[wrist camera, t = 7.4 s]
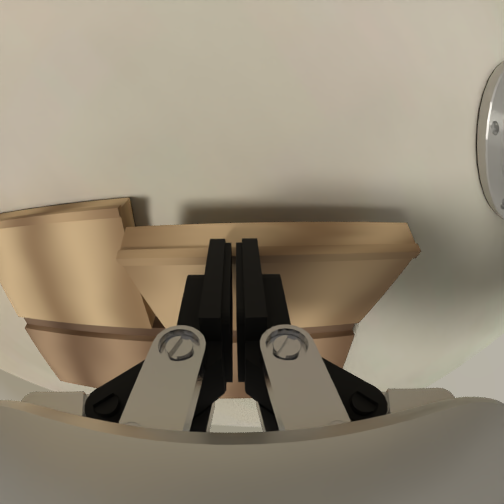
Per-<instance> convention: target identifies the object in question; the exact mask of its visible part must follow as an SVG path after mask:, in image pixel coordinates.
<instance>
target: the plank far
mask: <svg viewBox="0 0 504 504" xmlns="http://www.w3.org/2000/svg"><path fill="white" fill-rule="evenodd" d="M126 227H135V223H134V218H133V213H132V208H131V202H130V198H118V199H108V200H97V201H88V202H79V203H70V204H62V205H55V206H47V207H40V208H33V209H26V210H20V211H14V212H8V213H2V214H0V283H1V285H2V287H3V289H4V291H5V293H6V295H7V296H8V298H9V300H10V302H11V304H12V306H13V308H14V309H15V311H16V313H17V315H18V316H19V317H25V318H32V319H40V320H48V321H56V322H65V323H75V324H85V325H97V326H111V327H126V328H147V329H152V327H153V323H154V319H155V316H156V314H155V313H154V312H153V310H152V309H151V307H150V306H149V304H148V303H147V302H146V300H145V299H144V297H143V296H142V294H141V293H140V291H139V290H138V288H137V287H136V285H135V284H134V282H133V281H132V279H131V278H130V276H129V274H128V273H127V271H126V270H125V268H124V267H123V266H120V265H119V263H118V261H117V260H116V256H117V252H118V250H120V248H121V244H122V240H123V236H124V233H125V229H126Z"/></svg>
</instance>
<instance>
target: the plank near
mask: <svg viewBox="0 0 504 504" xmlns="http://www.w3.org/2000/svg"><path fill="white" fill-rule="evenodd" d="M242 238H257V240H258V248H259V255H260V263H261V271H262V274H280V276H281V280H282V285H283V289H284V294H285V299H286V303H287V308H288V313H289V318H290V322H291V325H294V326H297V327H300V328H304V327H318V326H331V325H342V324H352V323H359V322H360V321H361V320H362V319H363V318H364V317H365V315H366V314H367V313H368V312H369V311H370V310H371V309H372V308H373V306H374V305H375V304H376V303H377V302H378V301H379V299H380V298H381V297H382V296H383V295H384V293H385V292H386V291H387V290H388V289H389V287H390V286H391V285H392V284H393V283H394V281H395V280H396V279H397V278H398V276H399V275H400V274H401V273H402V271H403V270H404V269H405V267H406V266H407V265H408V264H409V262H410V261H411V260H412V258H416V257H417V256H418V255H419V253H420V252H421V250H420V248H419V245H418V244H415V241H414V239H413V236H412V234H411V231H410V229H409V227H408V224H407V223H394V222H257V223H215V224H184V225H160V226H138V227H126V229H125V233H124V236H123V240H122V244H121V248H120V250H118V252H117V256H116V260H117V261H118V263H119V265H120V266H123V267H124V268H125V270H126V271H127V273H128V274H129V276H130V278H131V279H132V281H133V282H134V284H135V285H136V287H137V288H138V290H139V291H140V293H141V294H142V296H143V297H144V299H145V300H146V302H147V303H148V304H149V306H150V307H151V309H152V310H153V312H154V313H155V314H156V316H157V317H158V319H159V320H160V321H161V323H162V324H163V326H164V327H165V328H166V329H167V328H169V327H172V326H177V321H178V316H179V311H180V307H181V302H182V297H183V293H184V288H185V284H186V279H187V276H188V275H204V273H205V267H206V260H207V254H208V248H209V241H210V239H225V240H226V243H231V248H232V293H233V330H237V327H236V242H242Z"/></svg>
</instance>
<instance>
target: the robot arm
mask: <svg viewBox="0 0 504 504" xmlns="http://www.w3.org/2000/svg"><path fill="white" fill-rule="evenodd" d="M477 154H478V167H479V174H480V180H481V184H482V187H483V191H484V194H485V196H486V199H487V201H488V203H489V205H490V206H491V208H492V209H493V210H494V212H495V213H496V214H498V215H499V216H500V217H501V218H503V219H504V61H503V62H502V63H501V64H500V65H499V66H497V67H496V68H495V70H494V72H493V73H492V75H491V76H490V78H489V80H488V83H487V86H486V88H485V91H484V94H483V98H482V103H481V107H480V113H479V121H478V133H477ZM236 327H237V366H238V382H245V392H246V394H248V395H249V396H250V397H252V398H253V399H254V400H256V407H257V410H258V414H259V418H260V422H261V426H262V430H263V432H249V433H248V432H247V433H213V432H210V427H211V422H212V418H213V413H214V408H215V401H216V400H217V399H218V398H220V397H221V396H222V395H223V394H225V391H226V385H227V382H233V293H232V248H231V243H226V240H225V239H210V241H209V248H208V254H207V260H206V267H205V273H204V275H188V276H187V279H186V284H185V288H184V293H183V297H182V302H181V307H180V311H179V316H178V321H177V326H172V327H169V328H167V329H164V330H163V331H161V332H160V333H159V334H158V335H157V336H156V338H155V339H154V341H153V343H152V345H151V347H150V350H149V352H148V354H147V356H146V359H145V360H143V361H142V362H140V363H138V364H137V365H135V366H134V367H132V368H130V369H129V370H127V371H125V372H124V373H122V374H120V375H119V376H117V377H115V378H114V379H112V380H110V381H109V382H107V383H105V384H104V385H102V386H100V387H99V388H97V389H95V390H94V391H93V392H92V393H91V394H85V392H84V391H77V392H31V393H29V394H27V395H26V396H25V397H24V398H23V399H22V400H21V402H20V401H11V400H0V504H504V404H503V403H502V402H500V401H497V400H494V399H490V398H485V397H484V398H483V397H459V398H455V397H454V396H453V395H452V393H451V392H449V391H448V390H446V389H443V388H419V389H388V390H387V391H386V392H381V391H380V390H379V389H377V388H376V387H375V386H373V385H371V384H369V383H367V382H365V381H363V380H362V379H360V378H358V377H356V376H354V375H353V374H351V373H349V372H347V371H345V370H344V369H342V368H340V367H338V366H337V365H335V364H333V363H331V362H330V361H328V360H326V359H324V358H323V357H321V355H320V353H319V351H318V349H317V347H316V345H315V343H314V340H313V339H312V337H311V336H310V334H309V333H308V332H306V331H305V330H304V329H302V328H300V327H297V326H294V325H291V322H290V318H289V313H288V308H287V303H286V299H285V294H284V289H283V285H282V280H281V276H280V274H262V271H261V263H260V255H259V248H258V240H257V238H242V242H236Z"/></svg>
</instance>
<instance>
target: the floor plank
mask: <svg viewBox="0 0 504 504" xmlns="http://www.w3.org/2000/svg"><path fill="white" fill-rule="evenodd" d="M24 319H25V321H26V322H27V325H26V327H25V329H26V331H27V333H28V334H29V336H30V337H31V339H32V341H33V342H34V344H35V345H36V347H37V348H38V350H39V351H40V353H41V354H42V356H43V357H44V359H45V360H46V362H47V363H48V364H49V366H50V367H51V369H52V370H53V371H54V373H55V374H56V375H57V377H58V378H59V379H60V381H64V382H68V383H73V384H78V385H83V386H89V387H94V388H99V387H100V386H102V385H104V384H105V383H107V382H109V381H110V380H112V379H114V378H115V377H117V376H119V375H120V374H122V373H124V372H125V371H127V370H129V369H130V368H132V367H134V366H135V365H137V364H138V363H140V362H142V361H143V360H145V359H146V356H147V354H148V352H149V350H150V347H151V345H152V343H153V341H154V339H155V338H156V336H157V335H158V334H159V333H160V332H161V331H163V330H164V329H166V328H165V327H164V326H163V324H162V323H161V321H160V320H159V319H158V317H157V316H155V319H154V323H153V327H152V329H147V328H126V327H111V326H97V325H85V324H75V323H65V322H56V321H48V320H40V319H32V318H25V317H24ZM353 326H354V323H352V324H342V325H331V326H318V327H304V328H302V329H304V330H305V331H306V332H308V333H309V334H310V336H311V337H312V339H313V340H314V343H315V345H316V347H317V349H318V351H319V353H320V355H321V357H323V358H324V359H326V360H328V361H330V362H331V363H333V364H335V365H337V366H338V367H340V368H343V365H344V363H345V360H346V357H347V355H348V352H349V349H350V346H351V344H352V341H353V338H354V333H353V330H352V329H353ZM220 398H252V397H250V396H249V395H248V394H246V392H245V382H238V366H237V330H233V382H227V385H226V391H225V394H223V395H222V396H221V397H220Z"/></svg>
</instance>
